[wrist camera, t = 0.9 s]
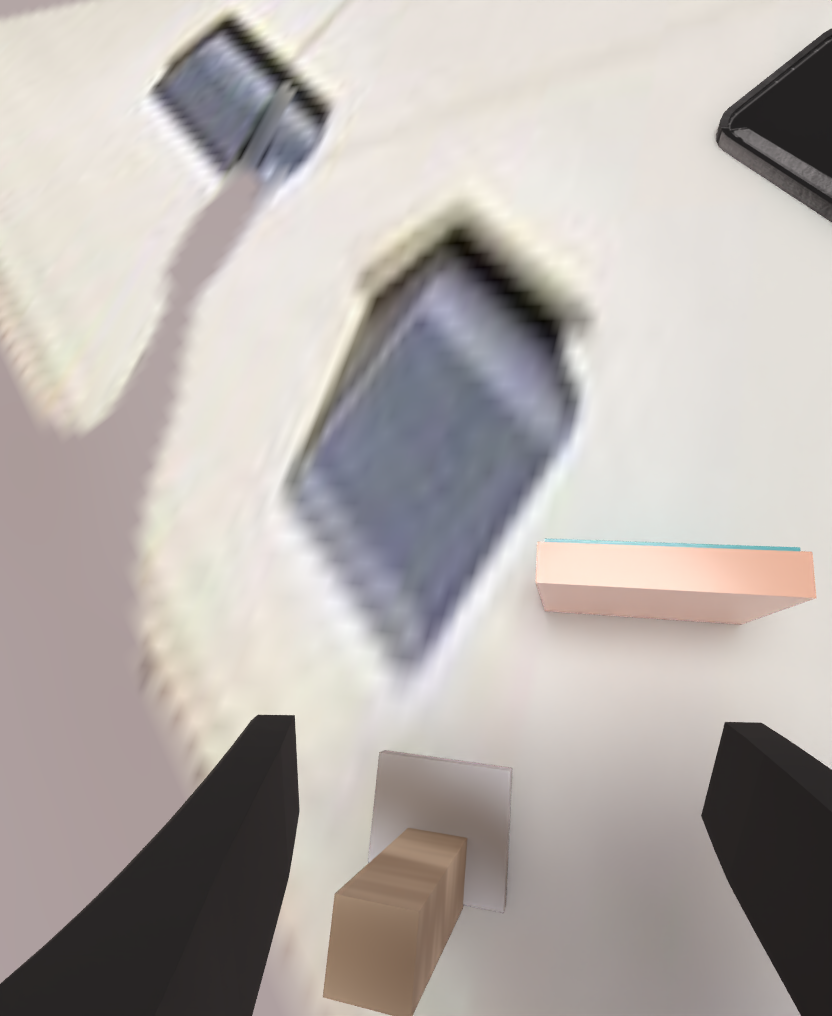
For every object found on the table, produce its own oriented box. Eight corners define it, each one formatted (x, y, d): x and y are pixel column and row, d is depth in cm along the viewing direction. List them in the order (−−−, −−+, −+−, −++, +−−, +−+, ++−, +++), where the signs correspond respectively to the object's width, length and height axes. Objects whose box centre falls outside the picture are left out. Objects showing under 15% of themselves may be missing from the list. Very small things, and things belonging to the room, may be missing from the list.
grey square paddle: (505, 907, 20) (470, 1036, 13) (372, 881, 22) (270, 983, 14) (512, 768, 22) (482, 811, 14) (385, 750, 23) (298, 782, 16)
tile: (740, 624, 21) (816, 598, 15) (545, 611, 23) (535, 582, 17) (738, 587, 22) (811, 546, 15) (546, 577, 23) (537, 536, 17)
